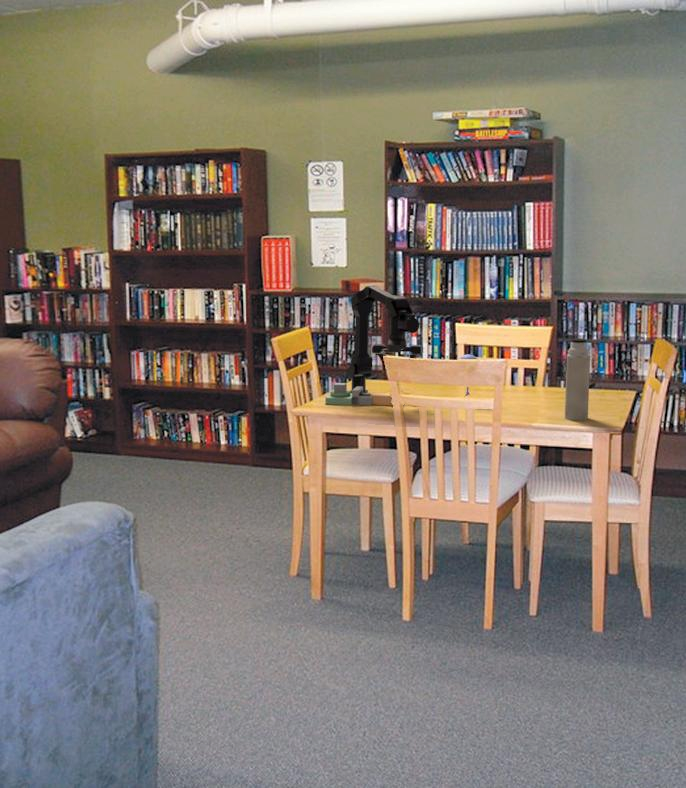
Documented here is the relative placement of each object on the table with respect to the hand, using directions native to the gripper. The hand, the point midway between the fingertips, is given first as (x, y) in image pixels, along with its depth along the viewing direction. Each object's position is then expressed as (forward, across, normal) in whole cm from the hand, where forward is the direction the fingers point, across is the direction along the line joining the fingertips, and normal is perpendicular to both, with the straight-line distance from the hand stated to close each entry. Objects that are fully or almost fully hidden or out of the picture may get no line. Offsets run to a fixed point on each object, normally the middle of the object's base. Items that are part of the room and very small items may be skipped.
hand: (397, 371), depth 404 cm
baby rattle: (+12, +25, +11) cm, 30 cm away
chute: (+12, -4, -2) cm, 13 cm away
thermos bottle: (+13, +67, -14) cm, 70 cm away
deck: (+12, -18, -2) cm, 21 cm away
